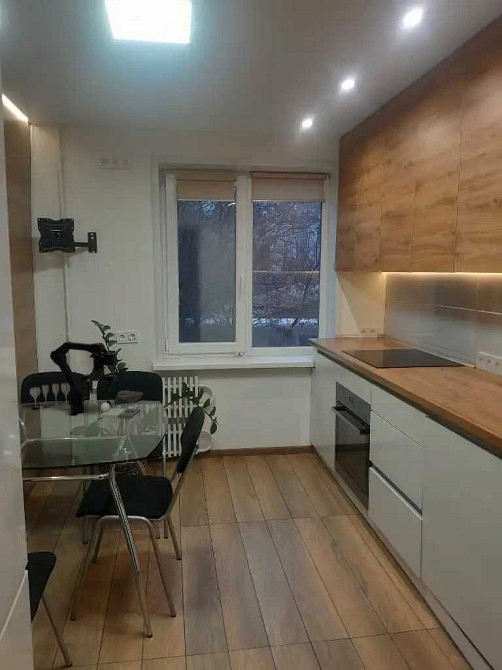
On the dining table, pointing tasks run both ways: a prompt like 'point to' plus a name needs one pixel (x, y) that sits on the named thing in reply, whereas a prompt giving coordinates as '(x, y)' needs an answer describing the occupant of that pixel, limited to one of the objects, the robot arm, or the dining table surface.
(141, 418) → the dining table surface
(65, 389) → the goblet set
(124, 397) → the stone
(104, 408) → the ball
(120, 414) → the panel
